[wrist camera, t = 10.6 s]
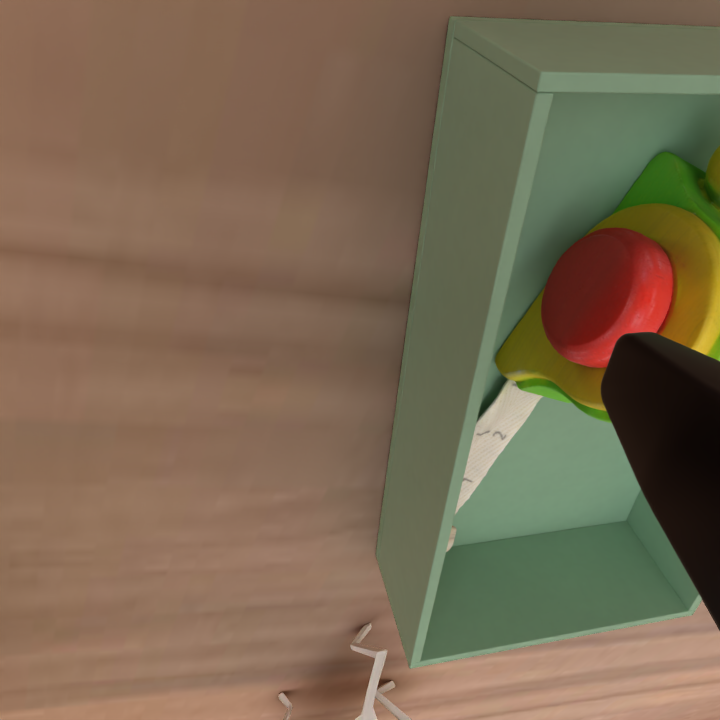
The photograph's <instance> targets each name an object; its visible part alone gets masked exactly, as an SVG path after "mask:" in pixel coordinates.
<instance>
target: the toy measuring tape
mask: <svg viewBox="0 0 720 720" xmlns="http://www.w3.org/2000/svg"><path fill="white" fill-rule="evenodd" d="M638 332H654V333H657V334H659V335H661V336H664V337H666V338H668V339H671V340H673V341H675V342H677V343H680V344H682V345H684V346H687V347H689V348H691V349H693V350H696V351H698V352H700V353H702V354H705V355H707V356H709V357H712V358H714V359H716V360H718V361H720V146H719V147H718V148H717V149H716V150H715V152H714V153H713V155H712V157H711V158H710V160H709V163H708V166H707V170H706V172H704V171H702V170H700V169H699V168H697V167H695V166H694V165H692V164H690V163H689V162H687V161H685V160H683V159H682V158H680V157H678V156H677V155H675V154H673V153H670V152H666V151H665V152H662V153H660V154H658V155H657V156H656V157H654V158H653V159H652V160H651V161H650V163H649V164H648V165H647V166H646V168H645V169H644V171H643V172H642V174H641V175H640V177H639V178H638V179H637V181H636V182H635V183H634V184H633V186H632V187H631V189H630V190H629V191H628V193H627V194H626V196H625V197H624V199H623V200H622V201H621V203H620V204H619V206H618V207H617V208H616V210H615V211H614V212H613V214H612V215H611V216H609V217H608V218H606V219H604V220H603V221H601V222H600V223H599V224H597V225H596V226H595V227H594V228H592V229H591V230H590V231H589V232H588V233H587V234H586V235H585V236H584V237H583V238H581V239H580V240H578V241H576V242H575V243H574V244H573V245H572V246H571V247H570V248H569V249H568V250H567V251H566V252H565V253H564V254H563V255H562V256H561V257H560V258H559V260H558V261H557V263H556V265H555V266H554V268H553V270H552V272H551V274H550V276H549V278H548V280H547V283H546V286H545V287H544V289H543V290H542V291H541V293H540V294H539V296H538V297H537V298H536V300H535V301H534V303H533V304H532V305H531V307H530V308H529V310H528V311H527V312H526V314H525V315H524V317H523V318H522V319H521V321H520V322H519V323H518V325H517V326H516V327H515V329H514V330H513V332H512V333H511V334H510V336H509V337H508V339H507V340H506V341H505V343H504V344H503V346H502V347H501V349H500V350H499V352H498V353H497V355H496V358H495V363H496V366H497V368H498V370H499V371H500V373H501V374H502V375H503V376H505V377H506V378H508V379H507V381H506V382H505V384H504V385H503V386H502V388H501V390H500V392H499V394H498V395H497V397H496V398H495V400H494V401H493V402H492V404H491V405H490V406H489V407H488V408H487V409H486V410H485V411H484V413H483V414H482V415H481V416H480V418H479V419H478V420H477V422H476V426H475V431H474V435H473V439H472V443H471V448H470V452H469V456H468V460H467V465H466V469H465V473H464V477H463V482H462V486H461V490H460V494H459V499H458V503H457V507H456V511H455V514H456V513H457V512H458V510H459V508H460V507H461V506H463V505H464V503H465V502H466V501H467V500H468V499H469V498H470V496H471V494H472V493H473V492H474V491H475V490H476V488H477V486H478V485H479V484H480V483H481V481H482V479H483V478H484V477H485V476H486V475H487V472H488V470H489V468H490V467H491V466H492V465H493V463H494V461H495V460H496V459H497V457H498V455H500V453H501V452H502V451H503V450H504V449H505V447H506V445H507V444H508V443H509V441H510V440H511V439H512V437H513V436H514V435H515V434H516V433H517V431H518V430H519V429H520V427H521V426H522V425H523V424H524V423H525V421H526V420H527V418H528V417H529V416H530V414H531V412H532V411H533V410H534V407H535V406H536V404H537V403H538V402H539V400H540V399H541V398H542V397H543V396H544V397H547V398H551V399H555V400H558V401H562V402H566V403H573V404H574V405H575V406H576V407H577V408H578V409H579V410H581V411H582V412H584V413H585V414H587V415H588V416H590V417H593V418H595V419H598V420H600V421H604V422H608V423H612V422H611V420H610V418H609V415H608V413H607V411H606V408H605V406H604V404H603V401H602V398H601V389H600V388H601V382H602V378H603V376H604V373H605V370H606V368H607V365H608V362H609V359H610V357H611V354H612V351H613V349H614V346H615V343H616V341H617V340H618V339H619V338H620V337H621V336H622V335H624V334H626V333H638ZM456 530H457V529H456V527H454V526H452V528H451V533H450V537H449V541H448V545H447V550H446V552H447V551H449V550H450V548H451V547H452V545H453V543H454V540H455V535H456Z"/></svg>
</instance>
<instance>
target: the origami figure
mask: <svg viewBox="0 0 720 720" xmlns="http://www.w3.org/2000/svg"><path fill="white" fill-rule="evenodd" d="M370 629H371V623H370V624H367V625H364V626H363V628H362V629H361V631H360V632H359V633H358V635H357V636H356V638H355V639H354V640H353V642H352V643H351V645H350V646H351V650H354V651H356V652H359V653H362V654H365V655H367V656H370V657H373V658H375V662H374V666H373V670H372V673H371V677H370V681H369V685H368V688H367V692H366V696H365V700H364V703H363V707H362V711H361V715H360V716H359V717H358V718H356V719H355V720H377V717H376V715H375V711H374V708H373V704H374V700H375V698H376V699H377V700H378V701H379V702H380V703H381V704H383V705H384V706H385V707H386V708H387V709H388V710H389V711H390V712H391V713H392V714H393V715H394V716H395V717H396V718H397V719H398V720H412V719H411V718H409V717H408V716H407V715H406V714H405V713H403V712H402V711H401V710H400V709H399V708H397V707H396V706H395V705H394V704H393V703H391V702H390V701H389V700H388V699H386V698H385V697H384V696H383V695H382V694H383V693H385V692H386V691H388V690H390V689H392V688H394V687H396V686H395V684H394V682H393V681H390V682H386V683H385V684H383V685H382V686H380V687H379V688H377V686H378V683H379V679H380V676H381V673H382V670H383V666H384V663H385V660H386V657H387V649H382V648H378V647H373V646H368V645H364V644H359V643H360V642H361V641H362V639H363V638H364V637H365V636H366V634H367V633H368V632H369V631H370ZM278 696H279V699H280V701H281V702H282V703H283V704H284V705H285V706H286V707H287V708H288V709H287V711H286V714H285V716H284V718H283V720H289V717H290V714H291V711H292V708H293V707H292V704H291V703H290V702H289V700H288V699H287V697H286V696H285V695H284V693H281V694H279V695H278Z"/></svg>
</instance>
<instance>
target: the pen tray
mask: <svg viewBox="0 0 720 720" xmlns="http://www.w3.org/2000/svg"><path fill="white" fill-rule="evenodd" d="M719 146H720V27H714V26H688V25H663V24H637V23H611V22H585V21H560V20H534V19H508V18H483V17H457V16H451V17H450V18H449V23H448V31H447V38H446V45H445V52H444V60H443V67H442V74H441V82H440V89H439V96H438V103H437V111H436V118H435V125H434V132H433V140H432V147H431V154H430V162H429V169H428V176H427V183H426V191H425V198H424V205H423V212H422V220H421V227H420V234H419V241H418V249H417V256H416V263H415V271H414V278H413V285H412V292H411V300H410V307H409V314H408V321H407V329H406V336H405V343H404V350H403V358H402V365H401V372H400V380H399V387H398V394H397V401H396V409H395V416H394V423H393V430H392V438H391V445H390V452H389V460H388V467H387V474H386V481H385V489H384V496H383V503H382V510H381V518H380V525H379V532H378V539H377V547H376V558H377V561H378V564H379V568H380V571H381V574H382V578H383V581H384V584H385V588H386V591H387V595H388V598H389V601H390V605H391V608H392V611H393V615H394V618H395V621H396V625H397V628H398V631H399V635H400V638H401V641H402V645H403V648H404V651H405V655H406V658H407V661H408V665H409V668H416V667H421V666H427V665H432V664H437V663H442V662H448V661H453V660H458V659H463V658H469V657H474V656H479V655H485V654H490V653H495V652H500V651H506V650H511V649H516V648H521V647H527V646H532V645H537V644H543V643H548V642H553V641H558V640H564V639H569V638H574V637H580V636H585V635H590V634H595V633H601V632H606V631H611V630H616V629H622V628H627V627H632V626H638V625H643V624H648V623H653V622H659V621H664V620H669V619H674V618H680V617H685V616H690V615H693V614H694V612H695V610H696V609H697V607H698V606H699V604H700V603H701V601H702V598H701V597H700V595H699V593H698V591H697V590H696V588H695V586H694V584H693V583H692V581H691V579H690V577H689V575H688V574H687V572H686V570H685V568H684V567H683V565H682V563H681V561H680V560H679V558H678V556H677V554H676V552H675V551H674V549H673V547H672V545H671V544H670V542H669V540H668V538H667V537H666V535H665V533H664V531H663V529H662V528H661V526H660V524H659V522H658V521H657V519H656V517H655V515H654V513H653V512H652V510H651V508H650V506H649V504H648V502H647V500H646V499H645V497H644V495H643V492H642V490H641V488H640V486H639V484H638V482H637V480H636V477H635V475H634V473H633V470H632V468H631V466H630V464H629V461H628V459H627V457H626V454H625V452H624V450H623V447H622V445H621V443H620V441H619V438H618V436H617V434H616V431H615V429H614V427H613V424H612V423H608V422H604V421H600V420H598V419H595V418H593V417H590V416H588V415H587V414H585V413H584V412H582V411H581V410H579V409H578V408H577V407H576V406H575V405H574V404H573V403H566V402H562V401H558V400H555V399H551V398H547V397H544V396H543V397H542V398H541V399H540V400H539V402H538V403H537V404H536V406H535V407H534V410H533V411H532V412H531V414H530V416H529V417H528V418H527V420H526V421H525V423H524V424H523V425H522V426H521V427H520V429H519V430H518V431H517V433H516V434H515V435H514V436H513V437H512V439H511V440H510V441H509V443H508V444H507V445H506V447H505V449H504V450H503V451H502V452H501V453H500V455H498V457H497V459H496V460H495V461H494V463H493V465H492V466H491V467H490V468H489V470H488V472H487V475H486V476H485V477H484V478H483V479H482V481H481V483H480V484H479V485H478V486H477V488H476V490H475V491H474V492H473V493H472V494H471V496H470V498H469V499H468V500H467V501H466V502H465V503H464V505H463V506H461V507H460V508H459V510H458V512H457V513H456V514H455V511H456V507H457V503H458V499H459V494H460V490H461V486H462V482H463V477H464V473H465V469H466V465H467V460H468V456H469V452H470V448H471V443H472V439H473V435H474V431H475V426H476V422H477V420H478V419H479V418H480V416H481V415H482V414H483V413H484V411H485V410H486V409H487V408H488V407H489V406H490V405H491V404H492V402H493V401H494V400H495V398H496V397H497V395H498V394H499V392H500V390H501V388H502V386H503V385H504V384H505V382H506V381H507V379H508V378H506V377H505V376H503V375H502V374H501V373H500V371H499V370H498V368H497V366H496V363H495V358H496V355H497V353H498V352H499V350H500V349H501V347H502V346H503V344H504V343H505V341H506V340H507V339H508V337H509V336H510V334H511V333H512V332H513V330H514V329H515V327H516V326H517V325H518V323H519V322H520V321H521V319H522V318H523V317H524V315H525V314H526V312H527V311H528V310H529V308H530V307H531V305H532V304H533V303H534V301H535V300H536V298H537V297H538V296H539V294H540V293H541V291H542V290H543V289H544V287H545V286H546V283H547V280H548V278H549V276H550V274H551V272H552V270H553V268H554V266H555V265H556V263H557V261H558V260H559V258H560V257H561V256H562V255H563V254H564V253H565V252H566V251H567V250H568V249H569V248H570V247H571V246H572V245H573V244H574V243H575V242H576V241H578V240H580V239H581V238H583V237H584V236H585V235H586V234H587V233H588V232H589V231H590V230H591V229H592V228H594V227H595V226H596V225H597V224H599V223H600V222H601V221H603V220H604V219H606V218H608V217H609V216H611V215H612V214H613V212H614V211H615V210H616V208H617V207H618V206H619V204H620V203H621V201H622V200H623V199H624V197H625V196H626V194H627V193H628V191H629V190H630V189H631V187H632V186H633V184H634V183H635V182H636V181H637V179H638V178H639V177H640V175H641V174H642V172H643V171H644V169H645V168H646V166H647V165H648V164H649V163H650V161H651V160H652V159H653V158H654V157H656V156H657V155H658V154H660V153H662V152H665V151H666V152H670V153H673V154H675V155H677V156H678V157H680V158H682V159H683V160H685V161H687V162H689V163H690V164H692V165H694V166H695V167H697V168H699V169H700V170H702V171H704V172H706V170H707V166H708V163H709V160H710V158H711V157H712V155H713V153H714V152H715V150H716V149H717V148H718V147H719ZM452 526H454V527H456V529H457V530H456V535H455V540H454V543H453V545H452V547H451V548H450V550H449V551H447V552H446V550H447V545H448V541H449V537H450V533H451V528H452Z"/></svg>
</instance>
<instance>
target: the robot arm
mask: <svg viewBox="0 0 720 720" xmlns="http://www.w3.org/2000/svg"><path fill="white" fill-rule="evenodd" d="M600 389H601V398H602V401H603V404H604V406H605V408H606V411H607V413H608V415H609V418H610V420H611V422H612V424H613V427H614V429H615V431H616V434H617V436H618V438H619V441H620V443H621V445H622V447H623V450H624V452H625V454H626V457H627V459H628V461H629V464H630V466H631V468H632V470H633V473H634V475H635V477H636V480H637V482H638V484H639V486H640V488H641V490H642V492H643V495H644V497H645V499H646V500H647V502H648V504H649V506H650V508H651V510H652V512H653V513H654V515H655V517H656V519H657V521H658V522H659V524H660V526H661V528H662V529H663V531H664V533H665V535H666V537H667V538H668V540H669V542H670V544H671V545H672V547H673V549H674V551H675V552H676V554H677V556H678V558H679V560H680V561H681V563H682V565H683V567H684V568H685V570H686V572H687V574H688V575H689V577H690V579H691V581H692V583H693V584H694V586H695V588H696V590H697V591H698V593H699V595H700V597H701V598H702V600H703V602H704V604H705V606H706V607H707V609H708V611H709V613H710V614H711V616H712V618H713V620H714V621H715V623H716V625H717V627H718V629H719V630H720V361H718V360H716V359H714V358H712V357H709V356H707V355H705V354H702V353H700V352H698V351H696V350H693V349H691V348H689V347H687V346H684V345H682V344H680V343H677V342H675V341H673V340H671V339H668V338H666V337H664V336H661V335H659V334H657V333H654V332H638V333H626V334H624V335H622V336H621V337H620V338H619V339H618V340H617V341H616V343H615V346H614V349H613V351H612V354H611V357H610V359H609V362H608V365H607V368H606V370H605V373H604V376H603V378H602V382H601V388H600Z"/></svg>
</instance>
